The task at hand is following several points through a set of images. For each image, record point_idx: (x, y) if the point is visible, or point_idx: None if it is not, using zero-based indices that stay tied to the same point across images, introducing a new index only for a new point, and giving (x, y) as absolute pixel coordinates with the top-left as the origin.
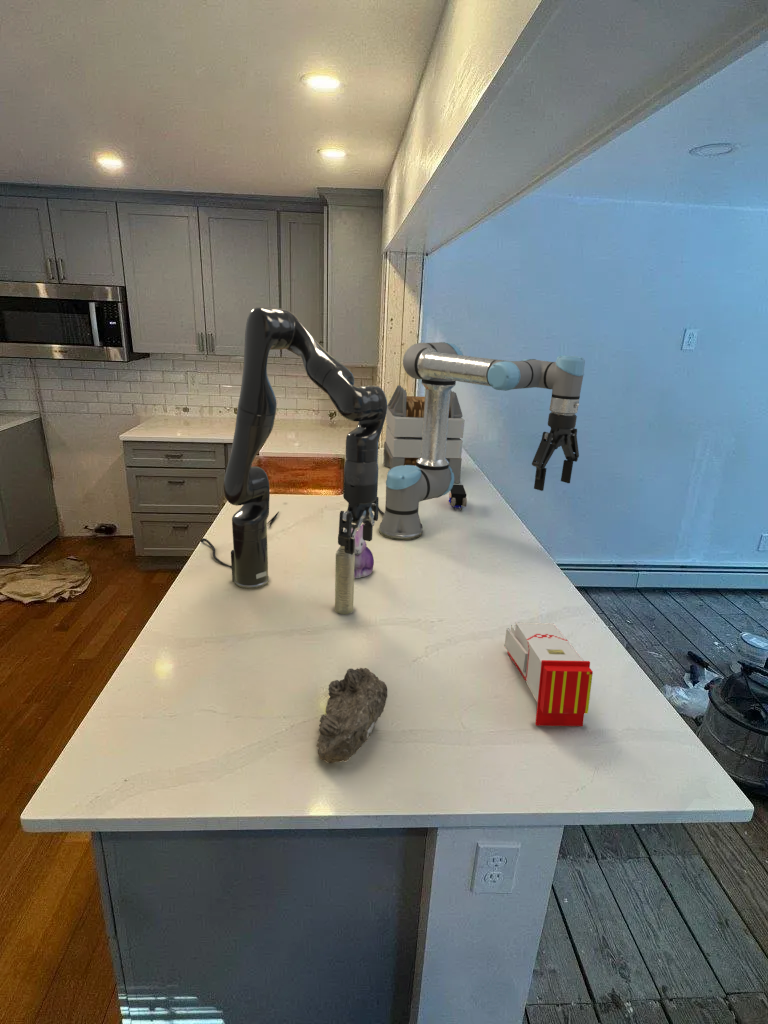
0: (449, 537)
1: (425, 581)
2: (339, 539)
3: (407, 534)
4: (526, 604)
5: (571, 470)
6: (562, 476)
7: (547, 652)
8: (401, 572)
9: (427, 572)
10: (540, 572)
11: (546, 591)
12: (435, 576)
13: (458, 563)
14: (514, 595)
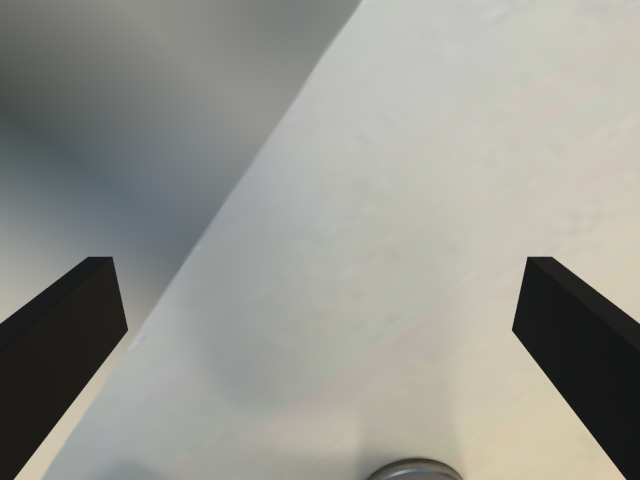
0: (336, 426)
1: (612, 297)
2: None
3: (443, 477)
4: (548, 37)
5: (2, 331)
6: (102, 350)
7: None
8: None
9: None
10: (316, 148)
11: (420, 51)
12: None
13: (455, 318)
14: (519, 99)
